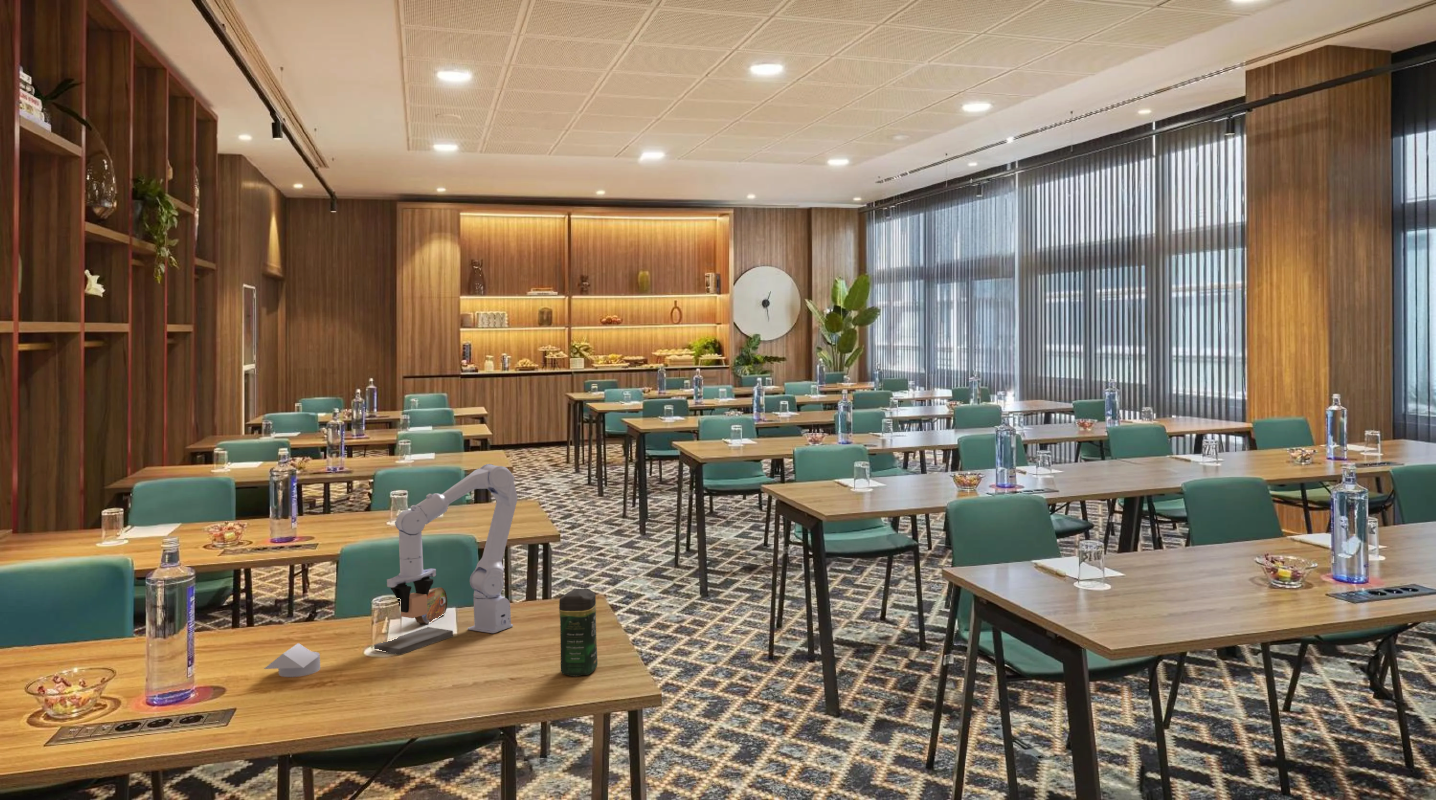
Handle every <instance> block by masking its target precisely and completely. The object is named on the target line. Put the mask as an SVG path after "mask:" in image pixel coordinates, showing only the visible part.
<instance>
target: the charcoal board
mask: <svg viewBox="0 0 1436 800" xmlns="http://www.w3.org/2000/svg"><path fill="white" fill-rule="evenodd" d="M397 637H398V638H397V639H394V640H392V641H388V642H384V641H382V642H383V643H381V642H378V643H375V644H374V645H373V649H379V650H382V651H386V652H388V653H387V654H393V655H398V656H401V655H404V654H406V653H409V652H411V651H412V652H413V651H415V650H417V649H420V648H421V649H422V648H424V647H426V646H430V645H432V644H434V643H438V642H441V641H444V640H446V639H450V638H452V637H454V630H453V629H452V630H450V629H443V628H438V627H431V626H427V627H424V628H421V629H418V630H415V631H411V632H409V633H406V634H402V635H399V636H397ZM386 652H385V653H386Z"/></svg>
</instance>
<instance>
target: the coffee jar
mask: <svg viewBox="0 0 1436 800" xmlns="http://www.w3.org/2000/svg"><path fill="white" fill-rule="evenodd" d="M596 597H597V596H596V593H595V592H594V591H592V590H591V588H573V589H572V590H570V591H567V592H566V593H565V594H564V595H562V596H561V597H560V598H559V604H558V605H559V606H558V609H559V611H558V612H559V622H560V623H559V626H560V627H559V629H560V631H559V632H560V638H559V639H560V672H561V674H562V675H567V676H570V677H579V676H584V675H588V676H589V675H590V674H592V673H593V672H594V671H595V670H596V668H597V667H598V647H597V646H598V645H597V643H598V642H597V600H596Z"/></svg>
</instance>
